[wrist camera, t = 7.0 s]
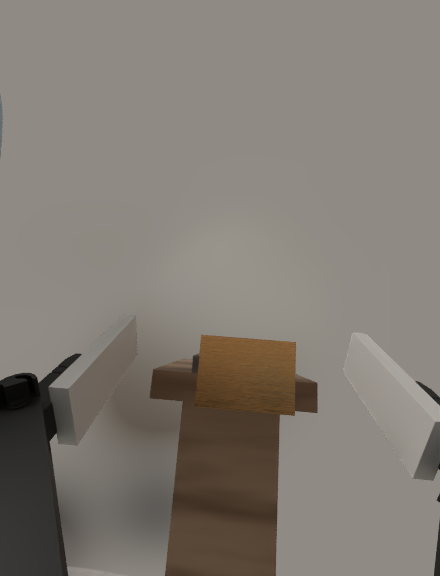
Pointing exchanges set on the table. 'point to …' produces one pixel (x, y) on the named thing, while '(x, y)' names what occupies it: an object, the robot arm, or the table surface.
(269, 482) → the stand
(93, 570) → the table surface
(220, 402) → the wood grain block
